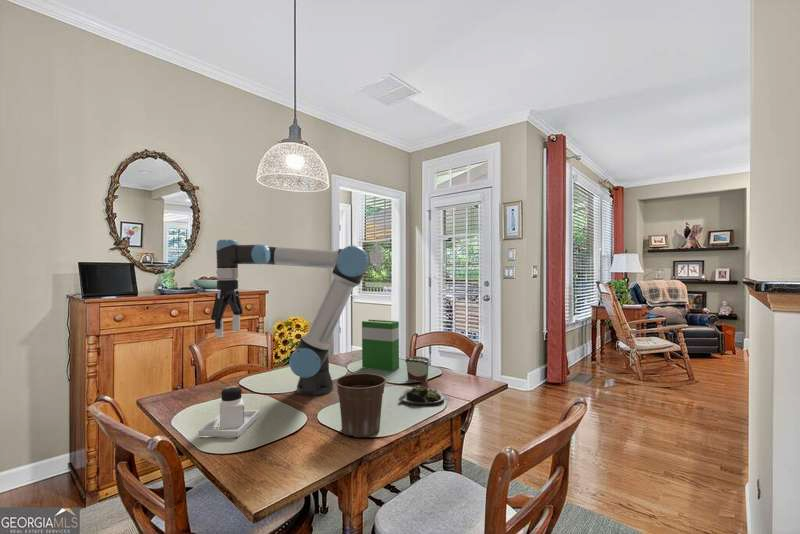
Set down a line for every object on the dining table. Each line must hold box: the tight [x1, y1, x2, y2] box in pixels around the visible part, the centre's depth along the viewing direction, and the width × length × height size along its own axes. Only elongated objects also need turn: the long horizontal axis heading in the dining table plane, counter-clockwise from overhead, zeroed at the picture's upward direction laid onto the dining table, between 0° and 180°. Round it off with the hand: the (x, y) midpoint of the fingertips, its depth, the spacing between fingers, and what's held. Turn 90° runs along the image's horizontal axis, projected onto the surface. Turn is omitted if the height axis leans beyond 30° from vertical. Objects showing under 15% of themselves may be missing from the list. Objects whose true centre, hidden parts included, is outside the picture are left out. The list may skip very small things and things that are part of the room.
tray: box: [197, 409, 261, 438], centre depth 125 cm, size 13×17×2 cm
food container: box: [404, 356, 431, 384], centre depth 174 cm, size 12×6×10 cm, turn 58°
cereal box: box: [361, 319, 400, 372], centre depth 194 cm, size 18×7×24 cm, turn 64°
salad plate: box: [398, 384, 445, 407], centre depth 151 cm, size 19×18×5 cm
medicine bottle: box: [219, 386, 245, 430], centre depth 125 cm, size 7×7×12 cm
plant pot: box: [335, 372, 387, 438], centre depth 122 cm, size 16×16×16 cm
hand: (228, 334), depth 146 cm, fingers open, 13 cm apart
